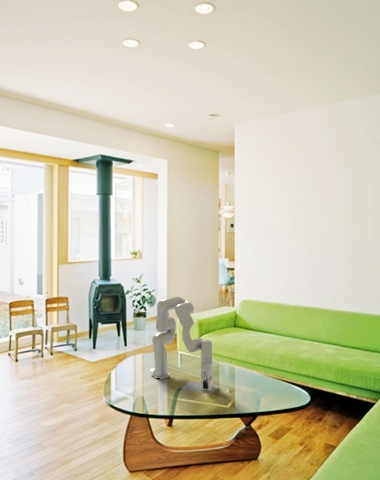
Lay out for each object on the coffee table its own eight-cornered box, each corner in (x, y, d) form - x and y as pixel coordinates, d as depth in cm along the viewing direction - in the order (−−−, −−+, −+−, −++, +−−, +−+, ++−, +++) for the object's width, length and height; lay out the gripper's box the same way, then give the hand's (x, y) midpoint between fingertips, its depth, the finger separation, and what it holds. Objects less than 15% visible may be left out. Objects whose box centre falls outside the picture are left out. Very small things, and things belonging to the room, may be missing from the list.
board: (180, 391, 260) (180, 389, 260) (189, 382, 274) (189, 381, 274) (212, 395, 251) (212, 393, 251) (219, 386, 265) (219, 385, 265)
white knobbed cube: (201, 389, 259) (200, 378, 259) (204, 385, 265) (204, 375, 265) (210, 390, 256) (210, 379, 256) (213, 386, 262) (213, 376, 262)
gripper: (206, 355, 270) (206, 381, 270) (196, 363, 254) (197, 390, 254) (216, 356, 267) (217, 382, 267) (207, 364, 251) (208, 392, 251)
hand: (207, 386), depth 261 cm, fingers closed on white knobbed cube, 6 cm apart
